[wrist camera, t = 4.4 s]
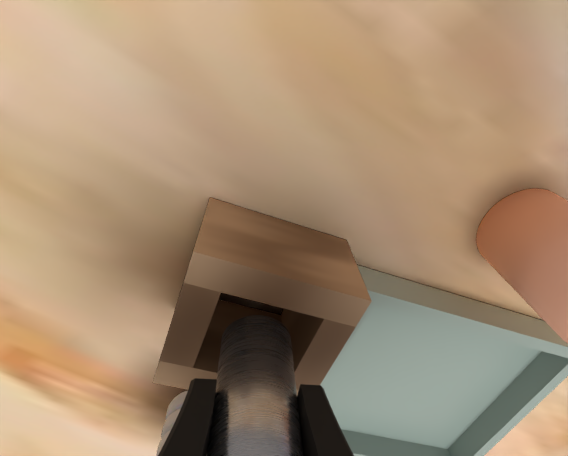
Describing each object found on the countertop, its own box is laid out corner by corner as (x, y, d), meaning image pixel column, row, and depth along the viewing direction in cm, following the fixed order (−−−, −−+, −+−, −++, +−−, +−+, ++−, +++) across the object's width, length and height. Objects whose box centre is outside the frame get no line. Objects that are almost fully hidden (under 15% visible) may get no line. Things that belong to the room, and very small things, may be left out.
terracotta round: (584, 204, 15) (715, 276, 11) (527, 273, 17) (620, 361, 13) (512, 176, 15) (622, 242, 10) (459, 252, 16) (534, 337, 12)
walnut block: (346, 240, 16) (371, 301, 12) (295, 338, 18) (303, 412, 15) (209, 197, 14) (193, 251, 11) (175, 309, 17) (152, 383, 13)
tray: (563, 326, 19) (590, 353, 17) (446, 448, 24) (460, 477, 22) (357, 265, 16) (367, 290, 15) (272, 415, 21) (273, 446, 19)
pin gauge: (298, 320, 12) (338, 609, 6) (282, 370, 13) (303, 661, 7) (227, 310, 12) (192, 607, 6) (216, 362, 13) (176, 662, 7)
